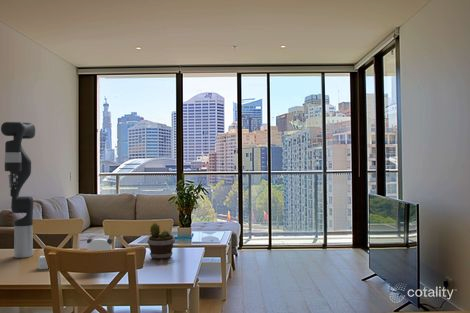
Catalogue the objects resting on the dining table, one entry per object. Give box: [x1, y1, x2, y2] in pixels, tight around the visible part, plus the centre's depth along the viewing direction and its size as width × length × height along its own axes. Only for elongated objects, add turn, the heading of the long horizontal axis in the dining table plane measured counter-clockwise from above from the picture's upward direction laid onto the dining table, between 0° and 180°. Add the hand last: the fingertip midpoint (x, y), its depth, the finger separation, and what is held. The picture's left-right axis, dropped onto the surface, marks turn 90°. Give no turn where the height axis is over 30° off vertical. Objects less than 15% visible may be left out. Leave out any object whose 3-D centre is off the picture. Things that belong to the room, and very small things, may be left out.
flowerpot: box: [146, 221, 176, 261], centre depth 233 cm, size 14×15×20 cm
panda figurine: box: [86, 237, 114, 251], centre depth 208 cm, size 12×11×15 cm
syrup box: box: [37, 254, 48, 270], centre depth 214 cm, size 6×6×14 cm
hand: (13, 196), depth 216 cm, fingers closed
